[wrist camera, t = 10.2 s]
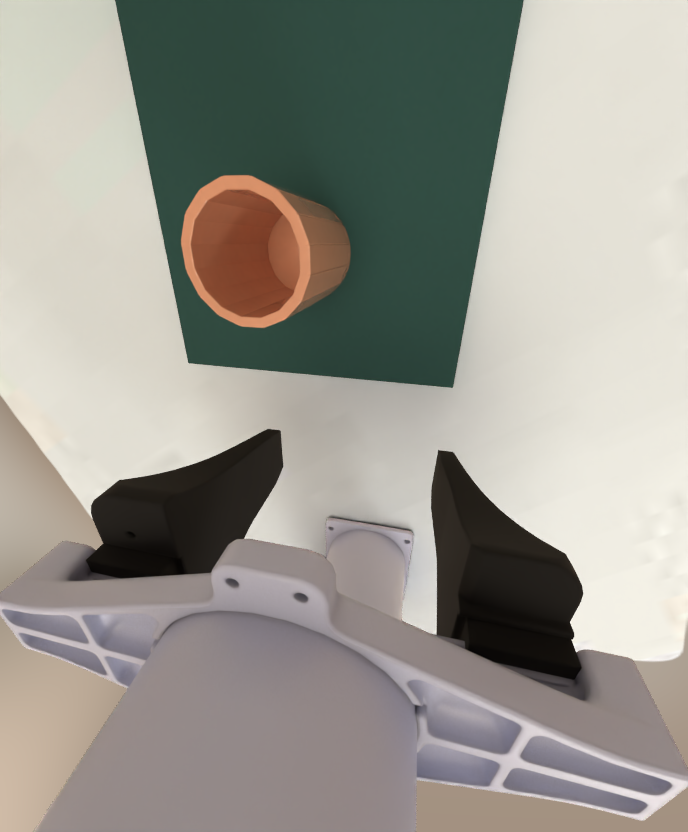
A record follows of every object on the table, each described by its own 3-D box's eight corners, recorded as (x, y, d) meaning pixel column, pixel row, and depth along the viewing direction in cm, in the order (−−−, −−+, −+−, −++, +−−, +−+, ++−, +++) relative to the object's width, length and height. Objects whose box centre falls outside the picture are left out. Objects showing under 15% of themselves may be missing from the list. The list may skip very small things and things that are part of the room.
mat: (452, 384, 23) (452, 387, 23) (192, 360, 27) (188, 363, 26) (532, -58, 14) (536, -69, 14) (120, -8, 18) (111, -16, 17)
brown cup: (349, 301, 22) (311, 331, 14) (269, 297, 23) (194, 323, 15) (352, 200, 19) (308, 174, 12) (261, 200, 20) (168, 175, 13)
